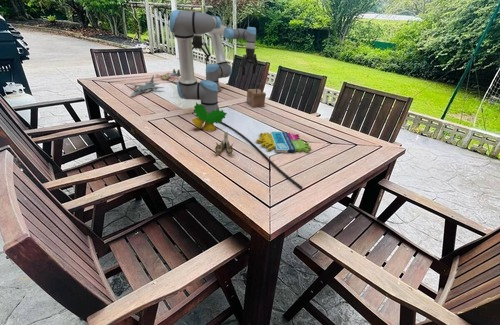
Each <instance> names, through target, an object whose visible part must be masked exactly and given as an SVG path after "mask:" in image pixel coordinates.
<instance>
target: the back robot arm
mask: <svg viewBox="0 0 500 325" xmlns="http://www.w3.org/2000/svg"><path fill="white" fill-rule="evenodd" d="M211 16H212V17H219V16H218V15H217V16H216V15H211ZM220 20H221V25H220V29H213V30H212V31H210V32H208V33H207V34H209V35H210V38H211V43H212V47H213V51H214V52H213V53H214V56H215V60H216V62H215V63H209V64H208V63H207V66H206V65H205V80H209V81H213V82H215V83H216V84H217V86H218V93H219V92H221V91H222V90H221V85H220V83H219V82H220V81H219V79H223V78H229V77H230V76H231V75H232V72H233V68H232V66H231V64H229V61H228V60H226V55H225V50H224V46H223V42H222V37H224V38H225V39H226V40H246V41H245V54H243V55H242V59H241V62H240V65H239V67H241V76H246V66H247V64H248V62H249V61H251V63H252V74H253V75H256V72H257V71H256V70H257V67H258V65H259V62H258V58H257V54H256V53H255V51H256V38H257V28H256V27H255V26H253V27H252V26H247V27H246V28H231V27H229V26H226V25H224V24H223V21H222V19H221V18H220ZM160 79H161V80H163V79H162V77H160ZM165 81H168V82H171V83H173V84H174V83H175V84H177V83H178V81H177V82H176V81H172V80H169V79H168V78H167V79H166V80H165Z"/></svg>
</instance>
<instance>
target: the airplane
mask: <svg viewBox="0 0 500 325" xmlns="http://www.w3.org/2000/svg"><path fill="white" fill-rule="evenodd" d="M154 78H155V75H154V74H153V75H152V77H151V78H150V81H145V82H144V83H145V84H136V83H135V84H134V83H129V85H131V86H133V90H134V89H135V90H134V91H133V92H132V93H131V94H130V96H129V98H134V97H137V96H138V95H140V94H142V93H148V92H150V91H152V90H153V92H155V91H157V90H158V89H165V87H164V86H157V85H159V83H155V81H154Z"/></svg>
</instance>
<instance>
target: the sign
mask: <svg viewBox="0 0 500 325" xmlns="http://www.w3.org/2000/svg"><path fill="white" fill-rule="evenodd" d="M299 136H300V135H299V134H298V133H296V134H294V133H291V132H287V131H270V132H264V133H263V132H260V133H259V139H258V138H257V139H256V143H257V144H261V148H263V147H264V148H265V149H267V151H268V152H271V151H272V150H273V149H275V152H276V153H283V154H285V153H287V154H288V153H290V154H293V153H296V152H298V153H301V152H305V153H310V151H311V150H312V149H311V148H312V146H309V142H304V141H303V139H302V138H299Z"/></svg>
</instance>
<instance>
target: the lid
mask: <svg viewBox="0 0 500 325" xmlns="http://www.w3.org/2000/svg"><path fill="white" fill-rule="evenodd" d="M255 85H256V86H255V88H248V89H246V92H247V91H248V92H250V93H251V94H253V95H254V96H257V95H265V96H267V93H266V92H264V91H263V89H264V83H261V82H260V83H255ZM258 86H261V87H260V88H261V89H260V88H258Z"/></svg>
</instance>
